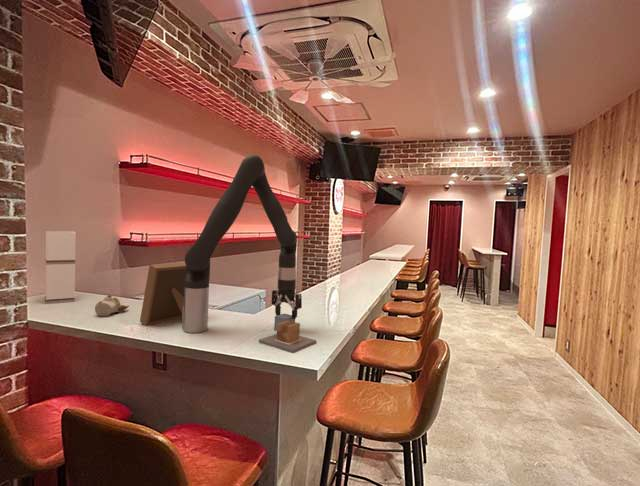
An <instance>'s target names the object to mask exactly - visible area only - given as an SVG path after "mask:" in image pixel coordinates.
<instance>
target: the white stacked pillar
mask: <svg viewBox="0 0 640 486" xmlns="http://www.w3.org/2000/svg"><path fill="white" fill-rule="evenodd" d="M76 235H77V233H76V231H58V230H57V231H56V230H46V231H45V295H44V301H45V305H50V304H60V303H61V304H62V303H74V302H75V301H76V300H75V297H76V296H75V293H76V292H75V291H76V290H75V289H76V285H75V284H76V245H77V244H76V241H77V240H76V237H77V236H76Z"/></svg>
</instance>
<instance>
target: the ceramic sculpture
mask: <svg viewBox="0 0 640 486" xmlns="http://www.w3.org/2000/svg"><path fill="white" fill-rule="evenodd" d="M129 307H130V305H124V304H121V303H120V300H119V299H118V298H117V297H113V296H112V295H107V296H105V297H104V299H102V300H100V301H98V302H97V303H96V305H95V306H94V311H95V313H96V315H97V316H99V317H102V318H103V317H108V316H110V315H111V314H115V313H117V312H124V311H126V310H127V309H128V308H129Z"/></svg>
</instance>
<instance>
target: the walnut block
mask: <svg viewBox="0 0 640 486" xmlns="http://www.w3.org/2000/svg"><path fill="white" fill-rule="evenodd" d="M300 328H301V323H299V322H296V321H295V322H291V321H284V322H281V323H278V324H277V331H276V333H275V334H276V340H278V341H282V342H285V343H292V342H294V341H297V340H299V336H300V331H301V330H300Z"/></svg>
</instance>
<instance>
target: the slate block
mask: <svg viewBox="0 0 640 486" xmlns="http://www.w3.org/2000/svg"><path fill="white" fill-rule="evenodd" d="M284 321H291V322H295V323H296V319H292V314H287V313H281V314H280V315H274V324H273V325H274V326H273V327H274V328H273V331H275V332H277V324H278V323H281V322H284Z"/></svg>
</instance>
